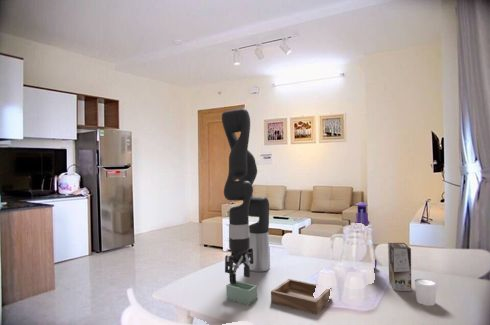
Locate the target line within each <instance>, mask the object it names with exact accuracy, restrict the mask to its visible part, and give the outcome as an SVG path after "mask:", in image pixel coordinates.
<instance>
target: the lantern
mask: <svg viewBox="0 0 490 325" xmlns="http://www.w3.org/2000/svg"><path fill="white" fill-rule="evenodd" d="M355 206H357V212H356V217H355V221H354V224H356V223H362V224H364V225H365V226H368V227H369V225H370V223H371V222H370V220H369V215H368V212H367V206H369V204H368V203H366V202H363V201H359V202H358V203H355ZM377 261H378V260H377V259H376V258H375V269H376V268H377V264H378V263H377Z"/></svg>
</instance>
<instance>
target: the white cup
mask: <svg viewBox="0 0 490 325" xmlns="http://www.w3.org/2000/svg"><path fill="white" fill-rule="evenodd" d="M414 286H415V294H416V302H417V303H418V304H420V305H422V304H423V306H426V307H433V306H436V299H437V290H438V289H437V288H438V284H437V282H436V281H434V280H433V279H432V280H431V279H428V278H417V279H414Z"/></svg>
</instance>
